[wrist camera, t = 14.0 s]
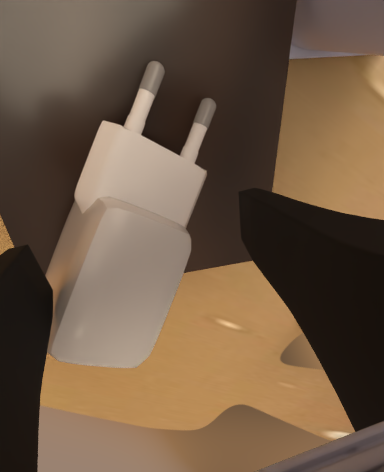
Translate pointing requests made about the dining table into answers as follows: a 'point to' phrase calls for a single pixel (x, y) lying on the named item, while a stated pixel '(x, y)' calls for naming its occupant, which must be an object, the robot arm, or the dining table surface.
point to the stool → (122, 99)
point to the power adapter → (125, 239)
